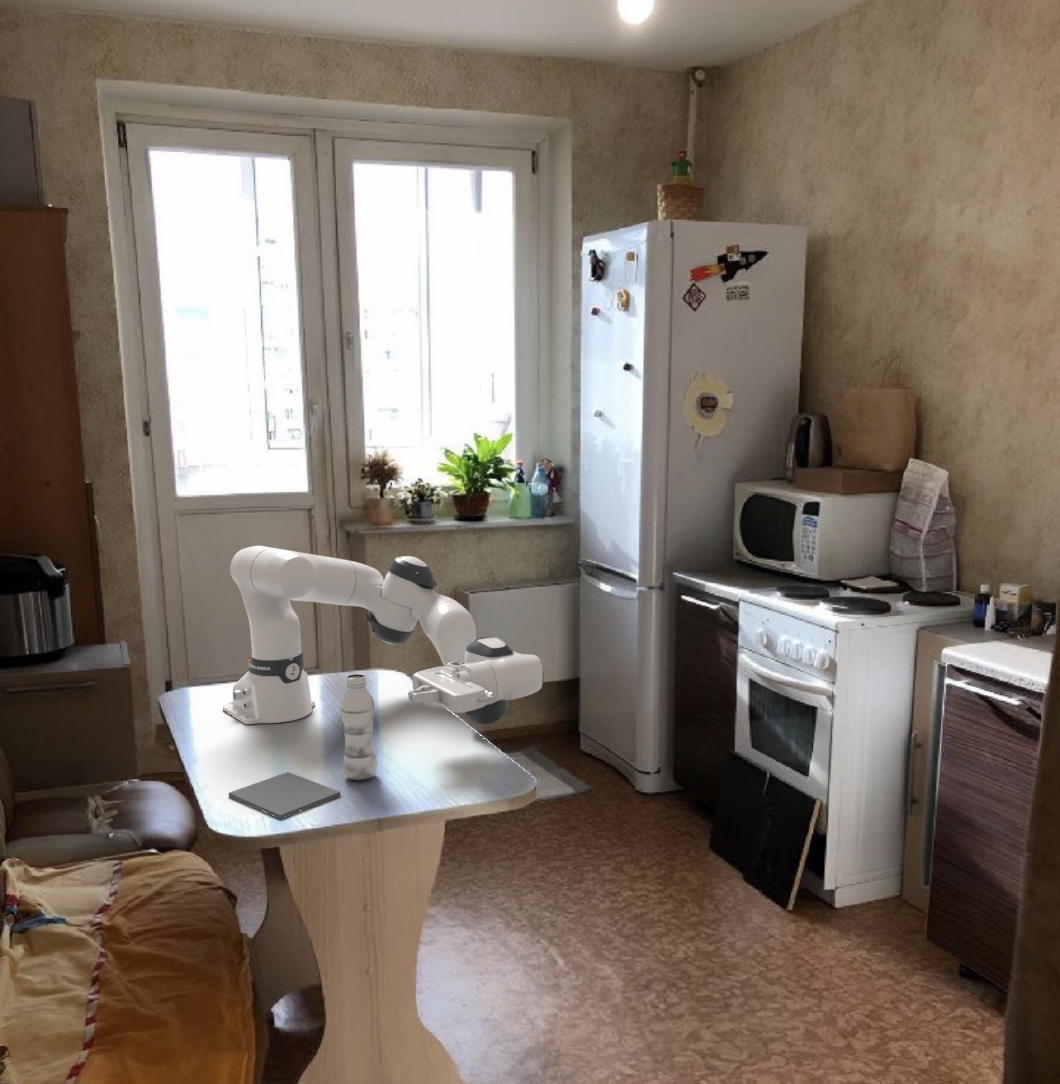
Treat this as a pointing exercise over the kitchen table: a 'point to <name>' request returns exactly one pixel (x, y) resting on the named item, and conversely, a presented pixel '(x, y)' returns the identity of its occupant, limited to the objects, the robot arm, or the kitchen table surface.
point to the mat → (284, 794)
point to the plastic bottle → (358, 729)
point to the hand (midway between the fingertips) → (411, 697)
